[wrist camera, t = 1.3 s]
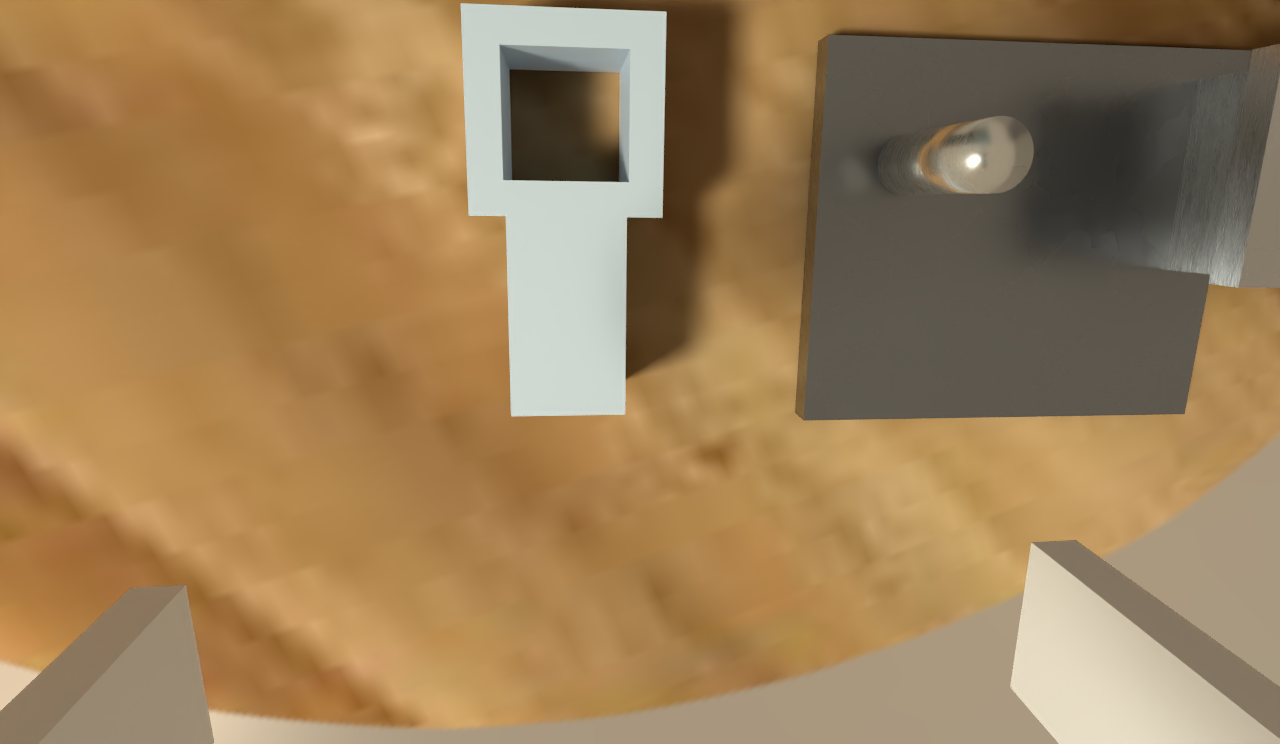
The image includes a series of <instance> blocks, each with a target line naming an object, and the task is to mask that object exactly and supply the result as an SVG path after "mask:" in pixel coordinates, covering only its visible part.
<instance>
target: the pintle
mask: <svg viewBox="0 0 1280 744" xmlns="http://www.w3.org/2000/svg"><path fill="white" fill-rule="evenodd" d="M1033 154H1034V147H1033V141H1032V137H1031V135H1030V133H1029V131H1028V129H1027V128H1026V127H1025V126H1024V125H1023V124H1022V123H1021V122H1020V121H1018V120H1017V119H1015V118H1012V117H1009V116H995V117H990V118H985V119H980V120H974V121H969V122H964V123H959V124H954V125H949V126H943V127H938V128H933V129H928V130H923V131H918V132H912V133H907V134H902V135H899V136H897V137H894V138H893V139H891V140H890V141H889V142H888V143H887V144H886V145H885V146H884V148H883V149H882V151H881V153H880V156H879V160H878V173H879V177H880V180H881V181H882V183H883V185H884V186H885V187H886V188H887V189H888V190H890V191H891V192H893V193H896V194H900V195H924V194H987V193H1002V192H1005V191H1008V190H1010V189H1012V188H1013V187H1015V186H1016V185H1018V184H1019V183H1020V182H1021V181H1022V180H1023V179H1024V177H1025V176H1026V174H1027V173H1028V171H1029V169H1030V167H1031V164H1032V160H1033Z"/></svg>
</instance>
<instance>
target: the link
mask: <svg viewBox="0 0 1280 744" xmlns="http://www.w3.org/2000/svg"><path fill="white" fill-rule="evenodd" d="M666 16H667V12H665V11H640V10H615V9H590V8H564V7H539V6H514V5H489V4H463V3H461V24H462V51H463V77H464V104H465V131H466V157H467V184H468V210H469V216H506V241H507V279H508V316H509V354H510V391H511V416H561V415H625V378H626V268H627V217H635V218H663V169H664V118H665V67H666ZM510 69H512V70H545V71H577V72H609V73H620V101H619V182H587V181H525V180H512V147H511V106H510Z"/></svg>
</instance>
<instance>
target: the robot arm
mask: <svg viewBox="0 0 1280 744" xmlns="http://www.w3.org/2000/svg"><path fill="white" fill-rule="evenodd" d="M1010 687H1011V688H1012V690H1013V691H1014V692H1015V693H1016V694H1017V696H1018V697H1019V698H1020V699H1021V700H1022V701H1023V703H1024V704H1025V705H1026V706H1027V707H1028V708H1029V709H1030V711H1031V712H1032V713H1033V714H1034V715H1035V716H1036V718H1037V719H1038V720H1039V721H1040V722H1041V723H1042V725H1043V726H1044V727H1045V728H1046V729H1047V730H1048V731H1049V733H1050V734H1051V735H1052V736H1053V737H1054V738H1055V740H1056V741H1057V742H1058V743H1059V744H1280V687H1279V686H1278V685H1276V684H1275V683H1274V682H1272V681H1271V680H1269V679H1268V678H1267V677H1265V676H1264V675H1262V674H1261V673H1260V672H1258V671H1257V670H1255V669H1254V668H1253V667H1251V666H1250V665H1249V664H1247V663H1246V662H1245V661H1243V660H1241V659H1240V658H1239V657H1238V656H1236V655H1235V654H1233V653H1232V652H1231V651H1229V650H1228V649H1226V648H1225V647H1224V646H1222V645H1221V644H1219V643H1218V642H1217V641H1215V640H1214V639H1212V638H1211V637H1210V636H1208V635H1207V634H1206V633H1204V632H1203V631H1201V630H1200V629H1199V628H1197V627H1196V626H1194V625H1193V624H1191V623H1190V622H1189V621H1187V620H1186V619H1185V618H1183V617H1182V616H1180V615H1179V614H1178V613H1176V612H1175V611H1173V610H1172V609H1171V608H1169V607H1168V606H1167V605H1165V604H1164V603H1162V602H1161V601H1160V600H1158V599H1157V598H1156V597H1154V596H1153V595H1151V594H1150V593H1149V592H1147V591H1146V590H1144V589H1143V588H1142V587H1140V586H1139V585H1137V584H1136V583H1135V582H1133V581H1132V580H1130V579H1129V578H1128V577H1126V576H1125V575H1124V574H1122V573H1121V572H1119V571H1118V570H1116V569H1115V568H1114V567H1112V566H1111V565H1110V564H1108V563H1107V562H1105V561H1104V560H1103V559H1101V558H1100V557H1099V556H1097V555H1096V554H1094V553H1093V552H1092V551H1090V550H1089V549H1087V548H1086V547H1085V546H1083V545H1082V544H1080V543H1079V542H1078V541H1076V540H1069V541H1049V542H1032V543H1031V549H1030V556H1029V563H1028V570H1027V577H1026V583H1025V590H1024V597H1023V604H1022V611H1021V617H1020V624H1019V631H1018V638H1017V645H1016V652H1015V658H1014V665H1013V673H1012V679H1011V686H1010ZM213 743H214V739H213V734H212V728H211V723H210V717H209V711H208V706H207V700H206V695H205V689H204V683H203V678H202V672H201V667H200V661H199V656H198V650H197V644H196V639H195V633H194V628H193V622H192V617H191V611H190V606H189V600H188V594H187V589H186V585H175V586H156V587H136V588H130V589H129V590H128V591H127V592H126V593H125V594H124V595H123V596H121V597H120V598H119V599H118V600H117V601H116V602H115V603H114V604H113V605H112V606H111V607H110V608H109V609H108V610H107V611H106V612H105V613H104V614H102V615H101V616H100V617H99V618H98V619H97V620H96V621H95V622H94V623H93V624H92V625H91V626H90V627H89V628H88V629H87V630H86V631H85V632H83V633H82V634H81V635H80V636H79V637H78V638H77V639H76V640H75V641H74V642H73V643H72V644H71V645H70V646H69V647H68V648H67V649H66V650H64V651H63V652H62V653H61V654H60V655H59V656H58V657H57V658H56V659H55V660H54V661H53V662H52V663H51V664H50V665H49V666H48V667H47V668H45V669H44V670H43V671H42V672H41V673H40V674H39V675H38V676H37V677H36V678H35V679H34V680H33V681H32V682H31V683H30V684H29V685H28V686H26V688H25V689H23V690H22V691H21V692H20V693H19V694H18V695H17V696H16V697H15V698H14V699H13V700H12V701H11V702H10V703H9V704H7V705H6V706H5V707H4V708H3V709H2V710H1V711H0V744H213Z"/></svg>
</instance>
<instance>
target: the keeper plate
mask: <svg viewBox="0 0 1280 744" xmlns="http://www.w3.org/2000/svg"><path fill="white" fill-rule="evenodd" d="M1251 51H1252V53H1251ZM1250 56H1251V59H1250ZM1249 62H1250V64H1249ZM1248 67H1249V69H1248ZM995 116H1009V117H1012V118H1015V119H1017V120H1018V121H1020V122H1021V123H1022V124H1023V125H1024V126H1025V127H1026V128H1027V129H1028V131H1029V133H1030V135H1031V137H1032V141H1033V147H1034V154H1033V160H1032V164H1031V167H1030V169H1029V171H1028V173H1027V174H1026V176H1025V177H1024V179H1023V180H1022V181H1021V182H1020V183H1019V184H1018V185H1016V186H1015V187H1013V188H1012V189H1010V190H1008V191H1005V192H1002V193H987V194H924V195H900V194H896V193H893V192H891V191H890V190H888V189H887V188H886V187H885V186H884V185H883V183H882V181H881V180H880V177H879V173H878V160H879V156H880V153H881V151H882V149H883V148H884V146H885V145H886V144H887V143H888V142H889V141H890V140H891V139H893V138H894V137H897V136H899V135H902V134H907V133H912V132H918V131H923V130H928V129H933V128H938V127H943V126H949V125H954V124H959V123H964V122H969V121H974V120H980V119H985V118H990V117H995ZM1209 278H1210V280H1209ZM1208 284H1216V285H1223V286H1231V287H1256V288H1280V44H1276V45H1271V46H1267V47H1262V48H1257V49H1253V50H1228V49H1201V48H1174V47H1148V46H1121V45H1094V44H1067V43H1041V42H1014V41H987V40H960V39H933V38H907V37H880V36H853V35H827V36H826V37H824V38H823V39H821V40H819V42H818V58H817V74H816V90H815V106H814V122H813V138H812V154H811V170H810V186H809V202H808V218H807V234H806V250H805V266H804V282H803V298H802V314H801V330H800V346H799V362H798V378H797V394H796V410H795V413H796V414H797V415H798V416H799V417H801V418H802V419H803V420H853V419H913V418H972V417H1032V416H1092V415H1152V414H1184V413H1185V408H1186V403H1187V397H1188V392H1189V386H1190V381H1191V376H1192V370H1193V365H1194V359H1195V354H1196V349H1197V343H1198V338H1199V332H1200V327H1201V322H1202V316H1203V311H1204V305H1205V300H1206V294H1207V289H1208Z"/></svg>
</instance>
